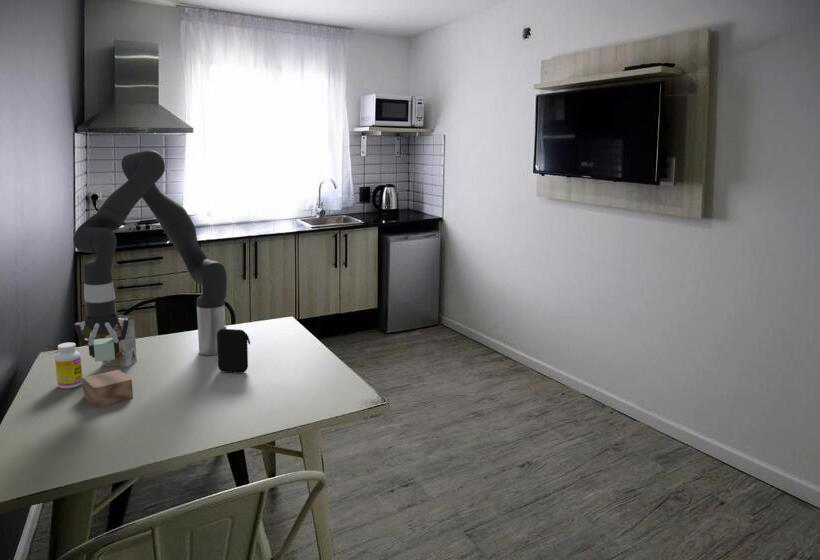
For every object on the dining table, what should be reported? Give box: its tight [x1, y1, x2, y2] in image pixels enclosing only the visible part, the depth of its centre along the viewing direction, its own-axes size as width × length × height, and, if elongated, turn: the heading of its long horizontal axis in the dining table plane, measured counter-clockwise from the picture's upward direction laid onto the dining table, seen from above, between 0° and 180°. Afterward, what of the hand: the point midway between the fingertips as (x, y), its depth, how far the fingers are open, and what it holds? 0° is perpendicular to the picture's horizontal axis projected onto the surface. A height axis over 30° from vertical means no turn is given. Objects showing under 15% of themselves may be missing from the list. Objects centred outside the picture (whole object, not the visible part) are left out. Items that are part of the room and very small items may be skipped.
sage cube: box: [93, 338, 115, 363], centre depth 167 cm, size 5×5×5 cm
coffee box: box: [99, 314, 138, 368], centre depth 195 cm, size 9×6×16 cm
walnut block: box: [82, 369, 134, 408], centre depth 170 cm, size 10×10×6 cm
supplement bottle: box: [54, 342, 84, 389], centre depth 176 cm, size 7×7×13 cm
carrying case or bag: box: [217, 328, 251, 373], centre depth 190 cm, size 11×3×15 cm, turn 89°
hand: (104, 355), depth 168 cm, fingers closed on sage cube, 5 cm apart
